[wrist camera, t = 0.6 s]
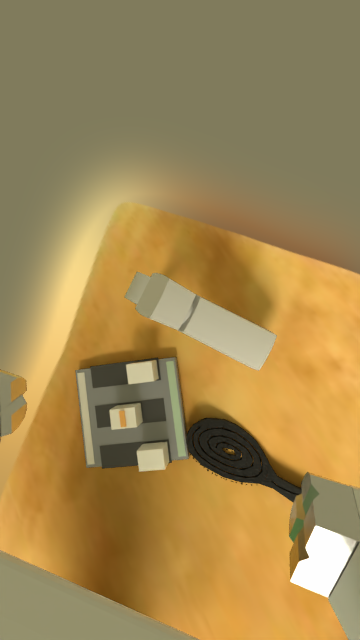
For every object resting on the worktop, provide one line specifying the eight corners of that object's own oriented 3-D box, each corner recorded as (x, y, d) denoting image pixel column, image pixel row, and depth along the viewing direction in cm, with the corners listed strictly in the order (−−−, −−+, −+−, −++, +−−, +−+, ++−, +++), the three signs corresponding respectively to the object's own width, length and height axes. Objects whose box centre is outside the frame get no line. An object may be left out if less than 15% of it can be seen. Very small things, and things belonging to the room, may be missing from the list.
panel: (189, 457, 55) (188, 461, 54) (90, 466, 58) (86, 469, 56) (176, 355, 57) (174, 355, 55) (79, 367, 59) (74, 368, 57)
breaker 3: (169, 460, 54) (165, 469, 51) (145, 463, 55) (139, 471, 51) (166, 441, 54) (162, 448, 51) (142, 444, 55) (136, 451, 52)
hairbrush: (325, 548, 50) (174, 456, 52) (317, 533, 53) (177, 448, 56) (353, 498, 49) (201, 409, 52) (344, 487, 53) (202, 403, 56)
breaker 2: (158, 378, 55) (153, 381, 52) (134, 381, 56) (128, 384, 52) (156, 359, 55) (151, 361, 52) (132, 363, 56) (125, 364, 52)
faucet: (259, 373, 50) (145, 321, 40) (203, 340, 64) (108, 295, 54) (279, 334, 50) (169, 272, 40) (218, 309, 64) (126, 259, 54)
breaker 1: (142, 421, 55) (136, 427, 51) (119, 424, 56) (110, 430, 52) (140, 402, 55) (133, 407, 52) (116, 405, 56) (108, 410, 52)
